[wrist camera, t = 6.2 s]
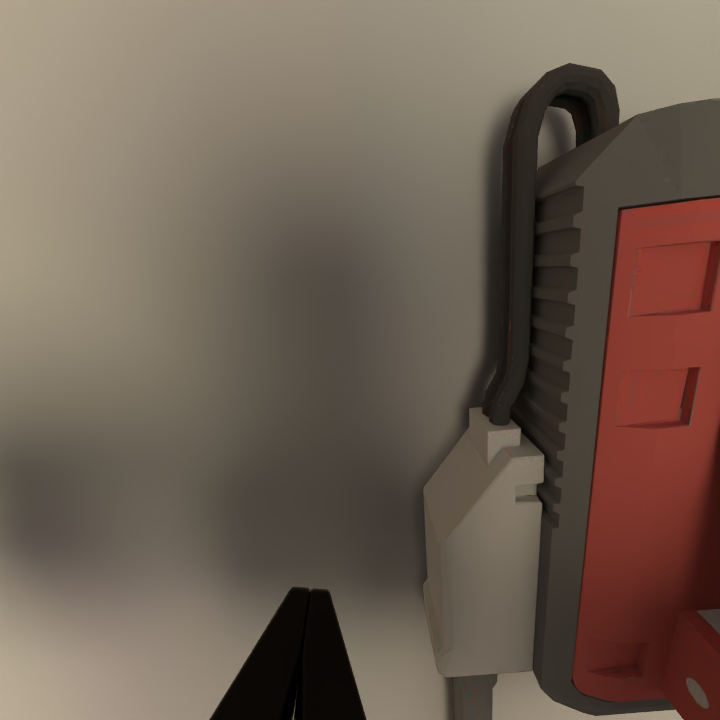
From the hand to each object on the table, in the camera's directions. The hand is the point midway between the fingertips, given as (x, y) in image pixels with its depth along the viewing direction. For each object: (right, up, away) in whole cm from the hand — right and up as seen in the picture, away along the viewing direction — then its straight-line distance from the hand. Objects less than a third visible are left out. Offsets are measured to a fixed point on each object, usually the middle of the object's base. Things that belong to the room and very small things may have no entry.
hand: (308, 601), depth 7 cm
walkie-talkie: (+7, +1, +2) cm, 7 cm away
